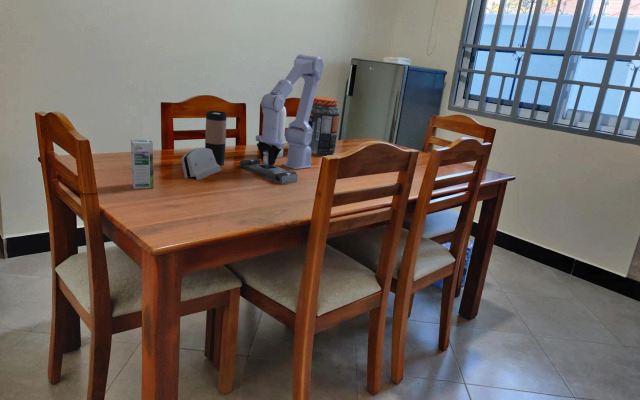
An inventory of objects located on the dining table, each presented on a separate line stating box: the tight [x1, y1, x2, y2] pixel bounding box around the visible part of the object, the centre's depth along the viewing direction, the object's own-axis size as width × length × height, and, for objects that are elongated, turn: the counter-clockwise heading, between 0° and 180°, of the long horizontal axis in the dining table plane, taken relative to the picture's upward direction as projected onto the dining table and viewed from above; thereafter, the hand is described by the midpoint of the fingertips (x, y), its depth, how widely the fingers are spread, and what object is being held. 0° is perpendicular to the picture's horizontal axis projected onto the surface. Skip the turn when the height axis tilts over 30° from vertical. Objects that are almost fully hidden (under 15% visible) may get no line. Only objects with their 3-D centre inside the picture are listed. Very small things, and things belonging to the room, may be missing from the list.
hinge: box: [180, 147, 222, 181], centre depth 155 cm, size 17×5×10 cm, turn 164°
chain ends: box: [238, 158, 299, 185], centre depth 165 cm, size 8×26×3 cm, turn 45°
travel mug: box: [204, 110, 228, 167], centre depth 167 cm, size 8×8×20 cm
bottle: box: [276, 105, 287, 159], centre depth 190 cm, size 8×8×30 cm
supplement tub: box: [308, 96, 340, 157], centre depth 207 cm, size 16×16×26 cm
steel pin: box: [261, 151, 271, 169], centre depth 164 cm, size 4×4×7 cm
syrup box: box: [130, 138, 155, 190], centre depth 134 cm, size 6×6×14 cm
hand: (267, 163), depth 164 cm, fingers closed on steel pin, 4 cm apart
